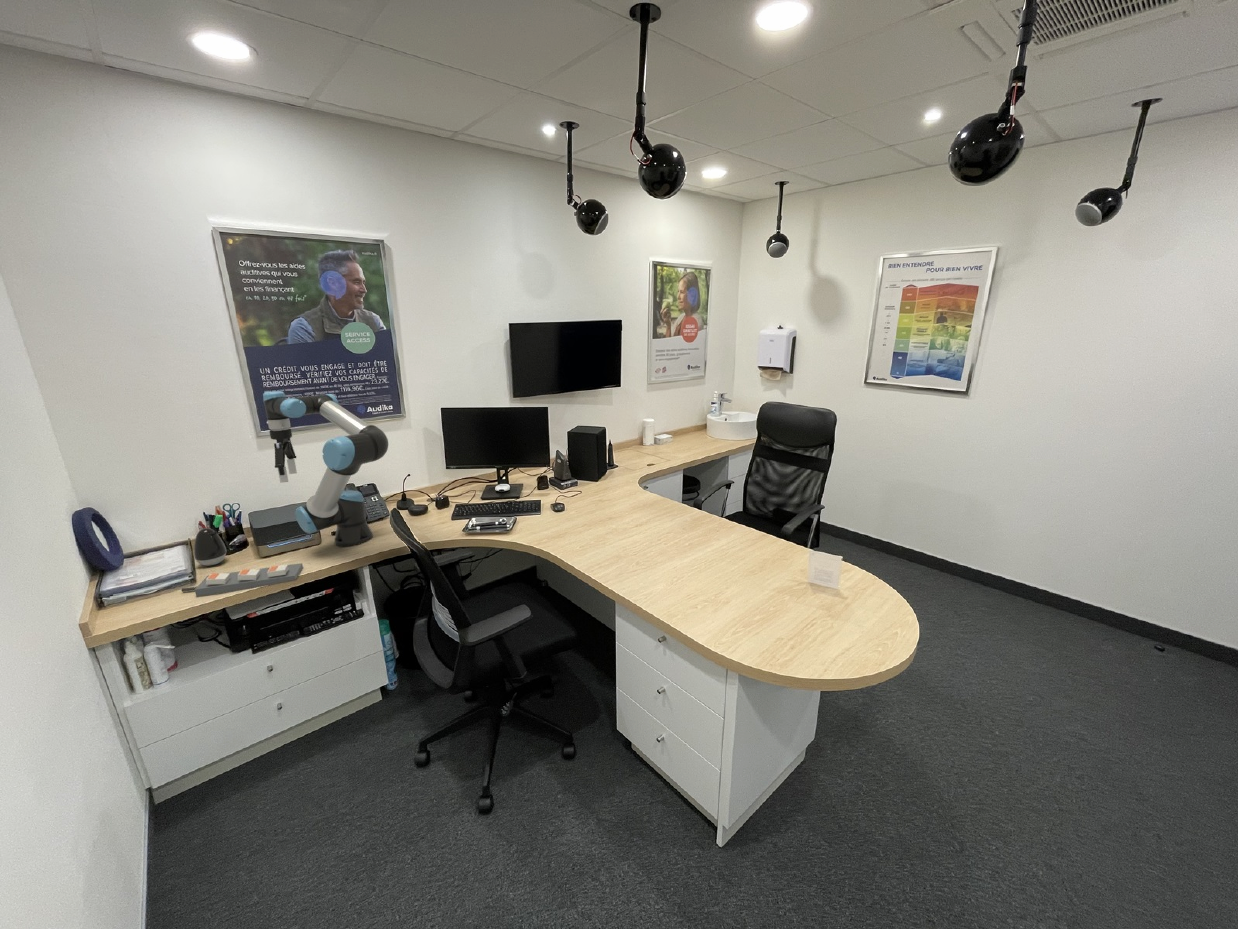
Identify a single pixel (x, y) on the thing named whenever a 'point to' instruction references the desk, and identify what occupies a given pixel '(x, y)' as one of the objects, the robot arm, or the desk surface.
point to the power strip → (245, 582)
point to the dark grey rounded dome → (209, 547)
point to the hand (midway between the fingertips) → (288, 477)
